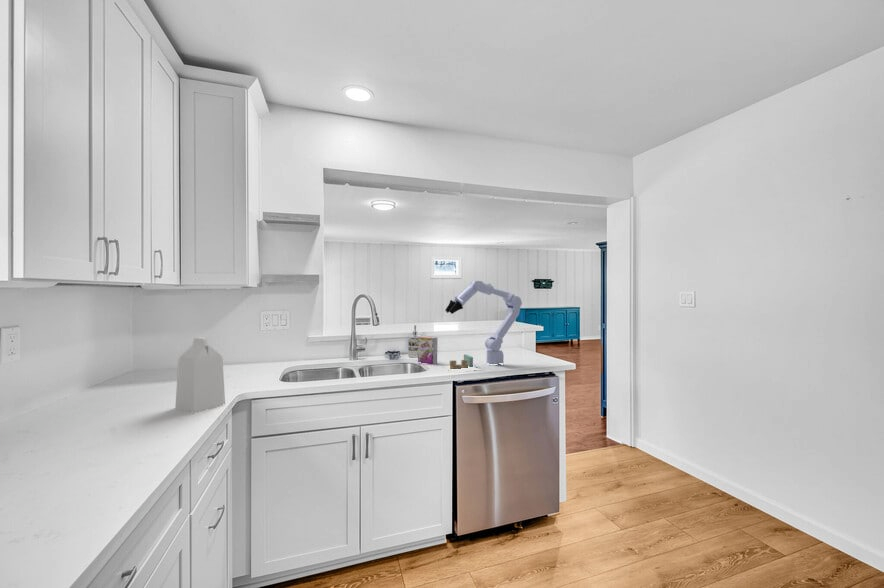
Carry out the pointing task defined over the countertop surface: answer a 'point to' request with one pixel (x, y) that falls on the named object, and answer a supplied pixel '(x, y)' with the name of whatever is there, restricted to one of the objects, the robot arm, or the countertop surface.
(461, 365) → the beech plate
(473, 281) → the robot arm
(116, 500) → the countertop surface
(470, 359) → the light green flat block
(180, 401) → the milk
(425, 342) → the candy bar box
